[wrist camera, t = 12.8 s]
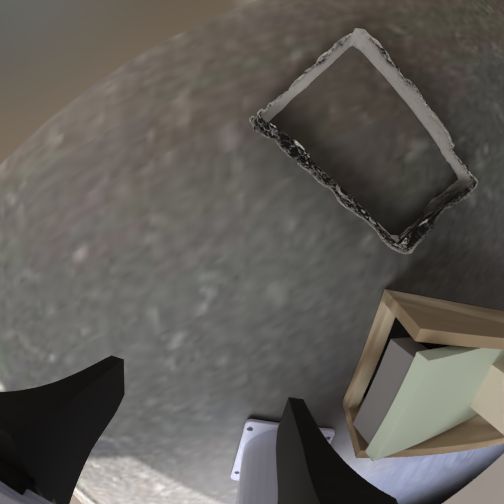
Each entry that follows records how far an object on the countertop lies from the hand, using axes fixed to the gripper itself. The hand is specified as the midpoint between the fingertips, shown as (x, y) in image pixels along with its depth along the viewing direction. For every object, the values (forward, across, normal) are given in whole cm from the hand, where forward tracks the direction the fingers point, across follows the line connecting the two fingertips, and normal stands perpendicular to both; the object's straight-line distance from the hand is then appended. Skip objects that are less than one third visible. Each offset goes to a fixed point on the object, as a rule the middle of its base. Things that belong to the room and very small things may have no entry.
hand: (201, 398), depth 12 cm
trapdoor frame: (+10, -19, +2) cm, 22 cm away
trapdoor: (+8, -17, +2) cm, 19 cm away
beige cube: (+7, -22, +2) cm, 23 cm away
